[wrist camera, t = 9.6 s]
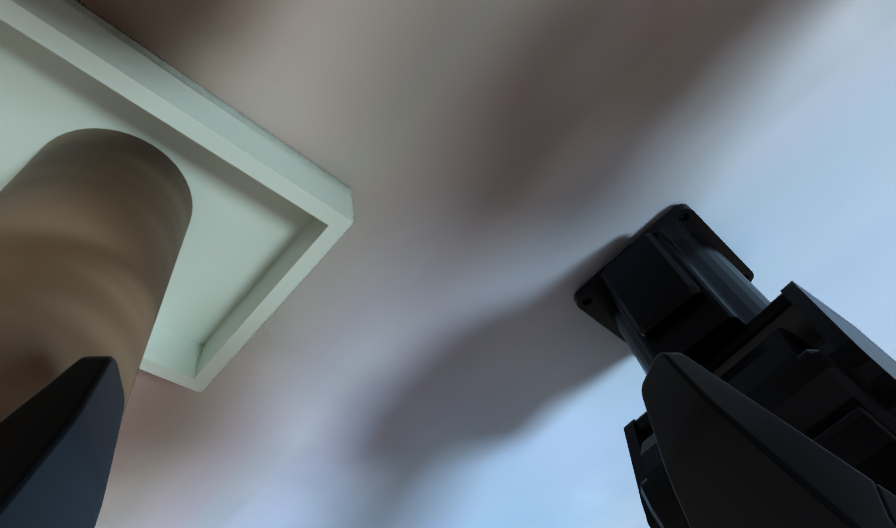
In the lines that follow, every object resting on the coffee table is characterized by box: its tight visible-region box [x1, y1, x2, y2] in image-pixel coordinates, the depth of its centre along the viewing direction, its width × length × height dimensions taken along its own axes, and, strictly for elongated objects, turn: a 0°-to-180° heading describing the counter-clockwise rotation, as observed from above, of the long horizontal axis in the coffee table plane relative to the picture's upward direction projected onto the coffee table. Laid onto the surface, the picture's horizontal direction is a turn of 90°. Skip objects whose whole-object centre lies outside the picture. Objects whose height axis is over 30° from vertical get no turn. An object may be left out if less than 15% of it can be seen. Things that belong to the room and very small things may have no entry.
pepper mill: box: [0, 128, 193, 421], centre depth 14 cm, size 5×5×15 cm
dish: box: [0, 0, 354, 393], centre depth 19 cm, size 13×10×2 cm
